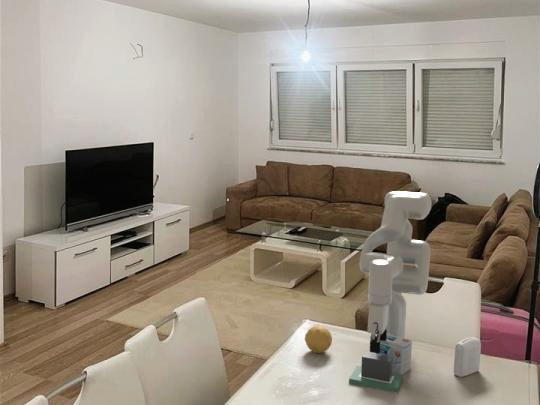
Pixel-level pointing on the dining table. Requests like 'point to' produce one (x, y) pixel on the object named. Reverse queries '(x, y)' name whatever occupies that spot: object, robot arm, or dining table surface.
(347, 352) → the dining table surface
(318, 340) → the stress ball
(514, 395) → the dining table surface
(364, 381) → the board
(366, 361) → the gray rectangular block
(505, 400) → the dining table surface
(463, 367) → the white upright block
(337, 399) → the dining table surface
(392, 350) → the light bulb box
